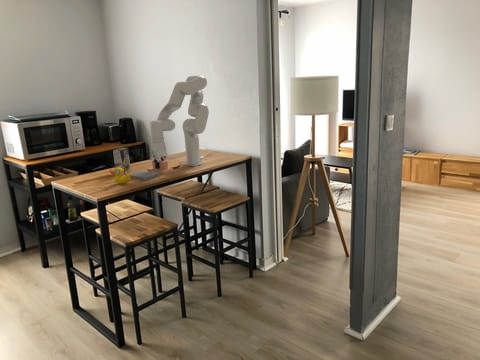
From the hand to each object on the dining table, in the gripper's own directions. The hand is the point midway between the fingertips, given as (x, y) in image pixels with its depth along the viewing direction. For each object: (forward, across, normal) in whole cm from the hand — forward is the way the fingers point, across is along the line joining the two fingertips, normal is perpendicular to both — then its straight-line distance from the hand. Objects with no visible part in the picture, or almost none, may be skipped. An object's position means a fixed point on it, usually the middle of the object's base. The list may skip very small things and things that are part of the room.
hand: (160, 167), depth 257 cm
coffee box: (+3, +14, -20) cm, 25 cm away
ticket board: (+3, +15, 0) cm, 15 cm away
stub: (+3, 0, 0) cm, 3 cm away
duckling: (+3, +32, 0) cm, 32 cm away
